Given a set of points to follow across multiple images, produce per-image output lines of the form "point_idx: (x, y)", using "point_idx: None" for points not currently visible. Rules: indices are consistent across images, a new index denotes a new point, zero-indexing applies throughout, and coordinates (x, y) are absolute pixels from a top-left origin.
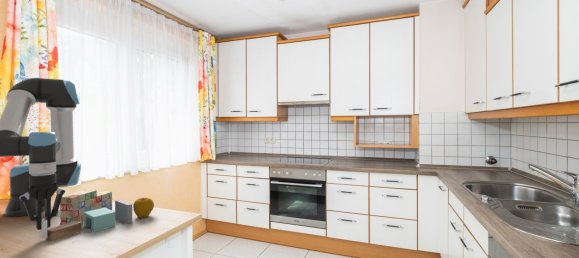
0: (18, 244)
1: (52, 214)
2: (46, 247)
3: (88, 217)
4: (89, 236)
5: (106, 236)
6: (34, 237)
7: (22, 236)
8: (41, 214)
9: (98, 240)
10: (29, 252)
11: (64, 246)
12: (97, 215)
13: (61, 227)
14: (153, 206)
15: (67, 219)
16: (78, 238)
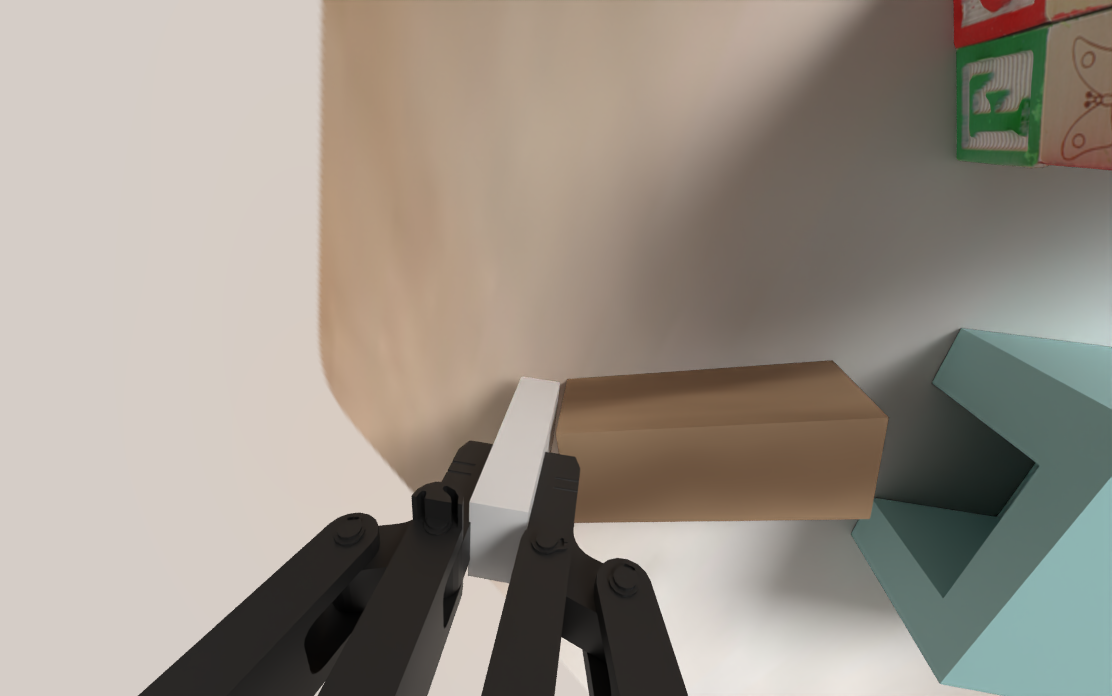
0: (397, 297)
1: (583, 635)
2: None
3: (992, 539)
4: (763, 577)
5: (810, 655)
6: (526, 227)
7: (459, 65)
8: (431, 667)
9: (738, 661)
10: None
11: None
12: (1010, 679)
13: (665, 496)
14: None
15: (1025, 52)
16: (703, 549)
